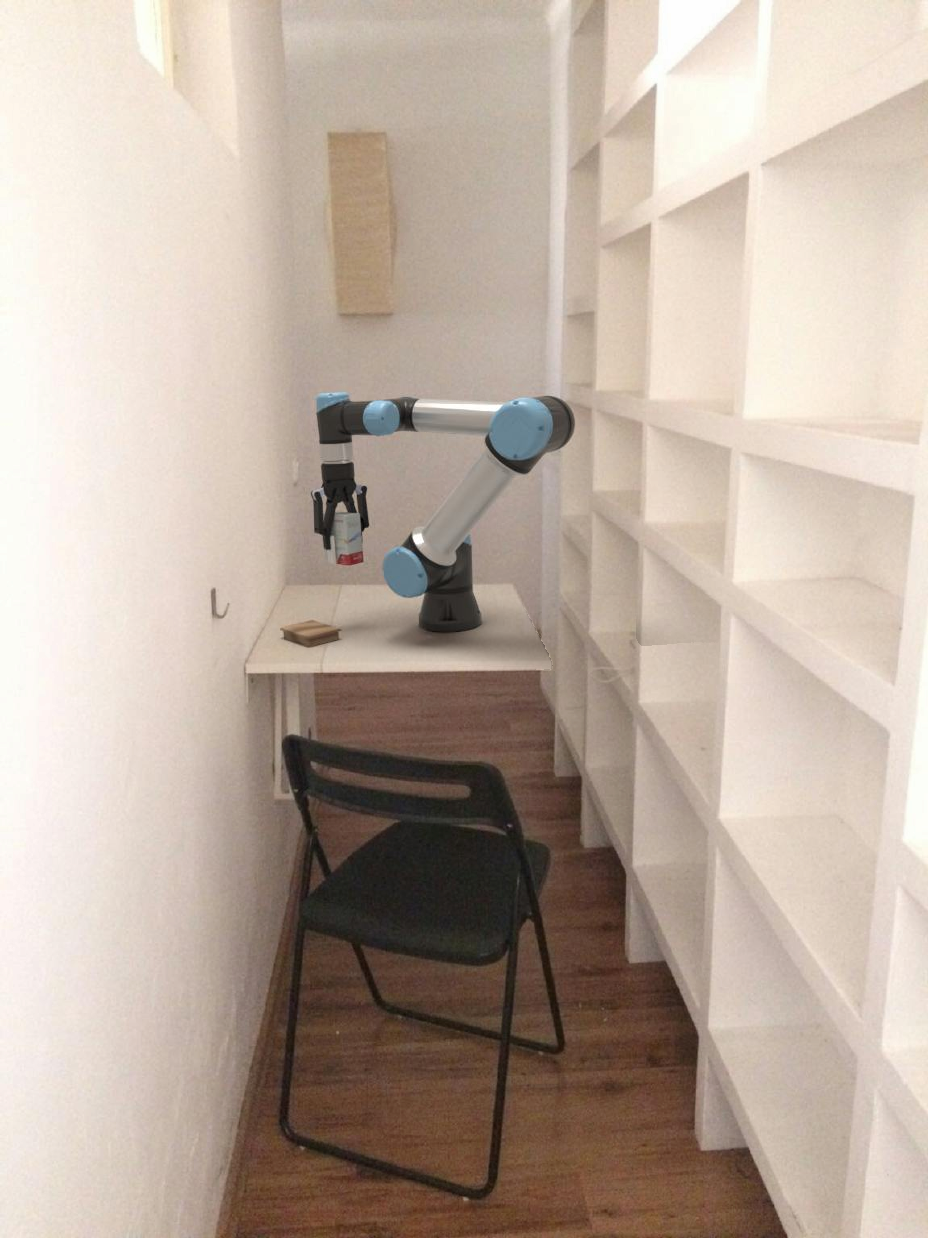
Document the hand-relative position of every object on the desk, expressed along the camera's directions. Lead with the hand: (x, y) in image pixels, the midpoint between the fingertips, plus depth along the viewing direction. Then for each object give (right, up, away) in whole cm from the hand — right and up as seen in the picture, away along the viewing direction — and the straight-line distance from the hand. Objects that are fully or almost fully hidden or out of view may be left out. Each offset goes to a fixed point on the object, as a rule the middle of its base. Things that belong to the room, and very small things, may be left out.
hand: (344, 560), depth 228 cm
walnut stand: (-8, -18, -2) cm, 20 cm away
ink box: (0, -1, 0) cm, 1 cm away
